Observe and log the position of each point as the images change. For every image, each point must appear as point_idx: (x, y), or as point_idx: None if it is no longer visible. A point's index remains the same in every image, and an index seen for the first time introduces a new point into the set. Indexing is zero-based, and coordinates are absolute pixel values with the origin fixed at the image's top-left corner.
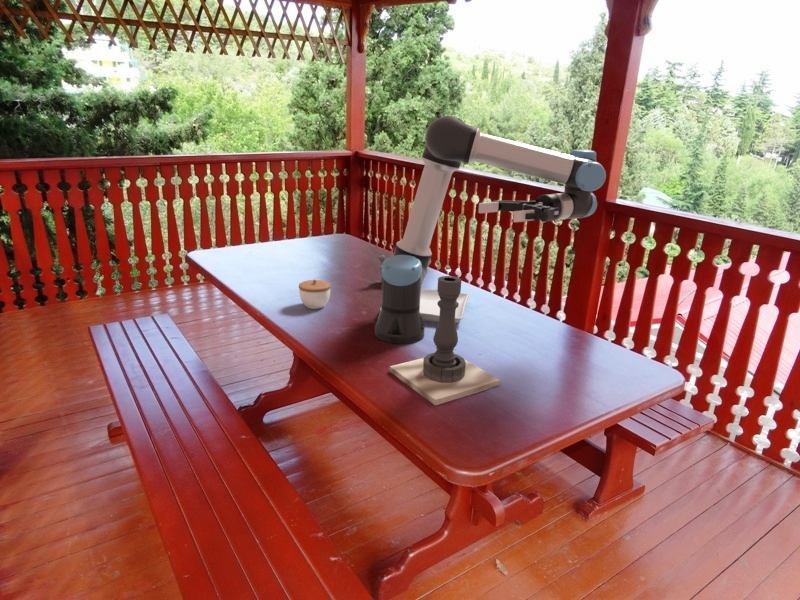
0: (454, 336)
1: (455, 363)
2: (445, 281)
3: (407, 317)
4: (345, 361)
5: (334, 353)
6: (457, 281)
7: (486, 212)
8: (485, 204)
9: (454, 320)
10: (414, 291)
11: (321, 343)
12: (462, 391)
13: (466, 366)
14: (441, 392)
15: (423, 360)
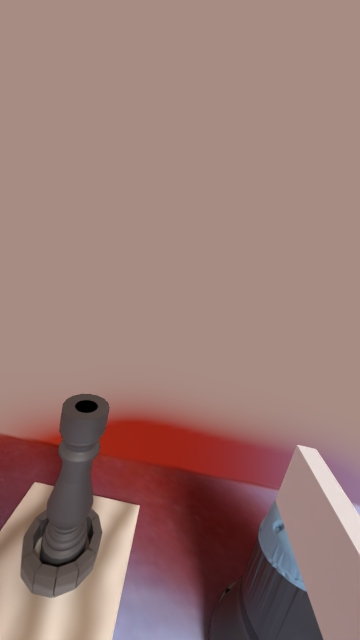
0: (51, 492)
1: (42, 543)
2: (85, 396)
3: (236, 598)
4: (194, 491)
5: (221, 496)
6: (67, 404)
7: (297, 560)
8: (314, 489)
9: (60, 476)
10: (258, 575)
11: (256, 503)
12: (5, 524)
13: (32, 621)
14: (35, 500)
15: (118, 563)
